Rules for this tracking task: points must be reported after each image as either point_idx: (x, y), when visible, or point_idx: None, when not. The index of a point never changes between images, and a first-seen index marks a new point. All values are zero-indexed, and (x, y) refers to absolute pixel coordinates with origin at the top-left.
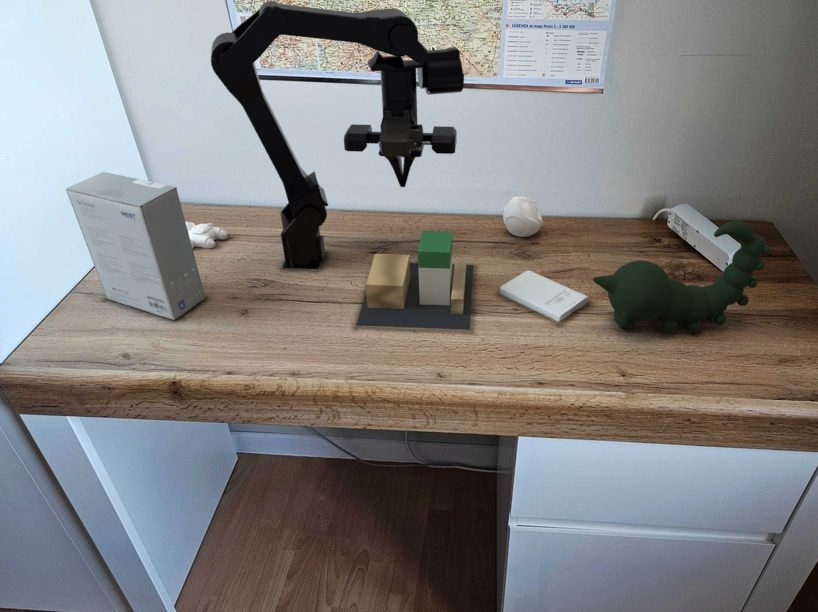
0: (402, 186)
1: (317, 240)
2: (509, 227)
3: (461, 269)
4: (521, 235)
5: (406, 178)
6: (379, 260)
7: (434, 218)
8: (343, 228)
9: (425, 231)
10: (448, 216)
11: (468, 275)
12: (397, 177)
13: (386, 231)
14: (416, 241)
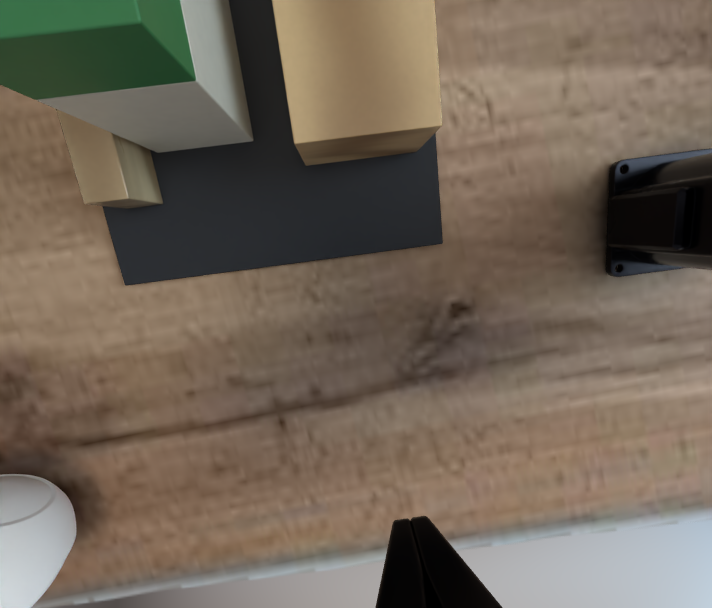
0: (412, 520)
1: (693, 201)
2: (35, 493)
3: (80, 134)
4: (12, 474)
5: (386, 588)
6: (410, 64)
7: (327, 532)
8: (575, 427)
9: (109, 3)
10: (290, 550)
11: (120, 215)
12: (473, 583)
13: (448, 435)
14: (346, 398)
